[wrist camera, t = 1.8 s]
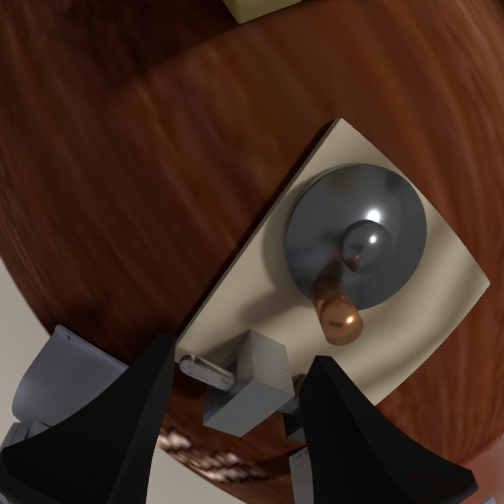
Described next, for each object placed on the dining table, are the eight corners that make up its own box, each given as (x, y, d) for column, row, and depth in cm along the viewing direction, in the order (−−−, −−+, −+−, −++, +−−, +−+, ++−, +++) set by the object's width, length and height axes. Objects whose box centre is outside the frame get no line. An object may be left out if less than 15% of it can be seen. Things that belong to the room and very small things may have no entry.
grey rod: (176, 349, 20) (165, 395, 15) (195, 322, 19) (186, 370, 14) (307, 403, 23) (315, 444, 18) (330, 384, 22) (343, 426, 18)
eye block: (207, 377, 21) (203, 424, 17) (250, 328, 19) (253, 379, 15) (240, 390, 22) (240, 437, 17) (285, 345, 20) (294, 395, 16)
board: (170, 349, 21) (167, 358, 20) (335, 118, 15) (341, 117, 14) (346, 418, 26) (348, 425, 25) (484, 278, 20) (490, 283, 19)
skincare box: (287, 457, 29) (297, 537, 18) (310, 442, 28) (326, 529, 17) (321, 462, 30) (335, 534, 19) (343, 449, 29) (363, 525, 18)
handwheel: (251, 257, 17) (255, 304, 12) (345, 130, 14) (387, 130, 10) (357, 321, 19) (383, 369, 14) (438, 221, 16) (485, 249, 12)
